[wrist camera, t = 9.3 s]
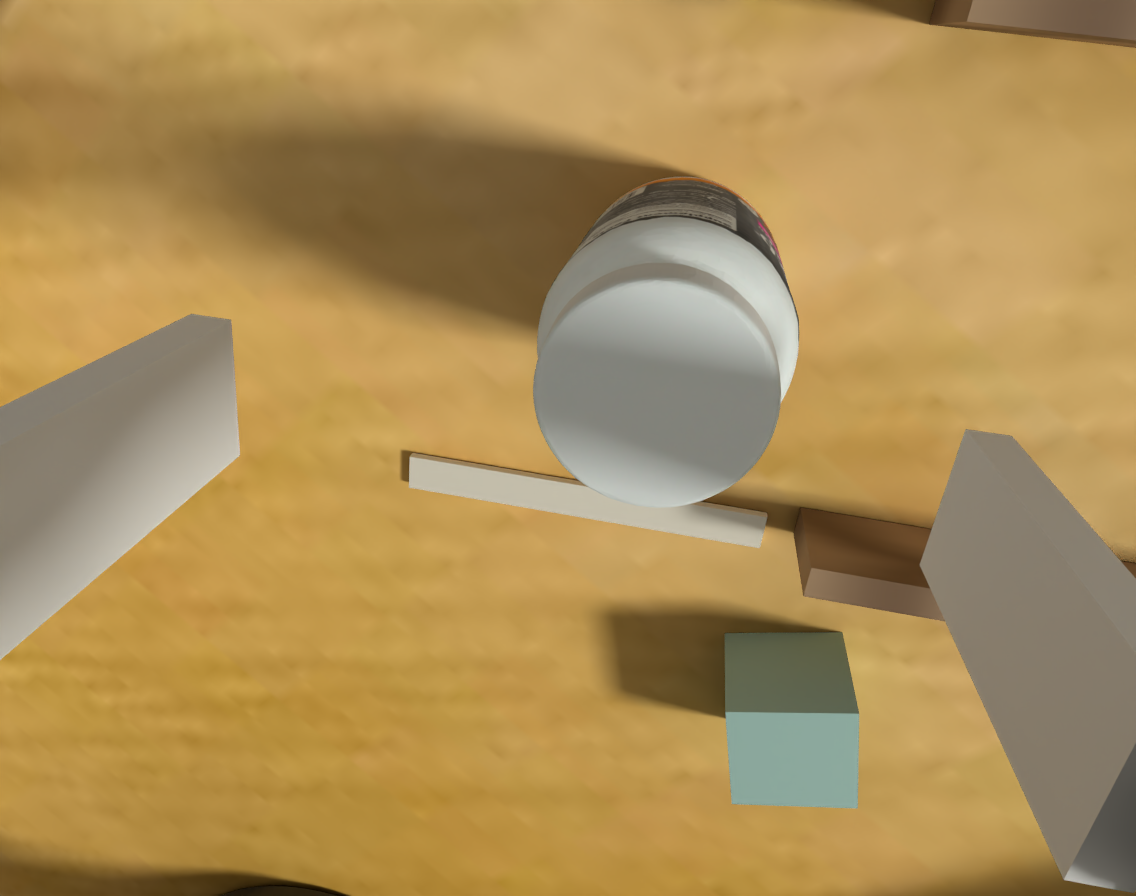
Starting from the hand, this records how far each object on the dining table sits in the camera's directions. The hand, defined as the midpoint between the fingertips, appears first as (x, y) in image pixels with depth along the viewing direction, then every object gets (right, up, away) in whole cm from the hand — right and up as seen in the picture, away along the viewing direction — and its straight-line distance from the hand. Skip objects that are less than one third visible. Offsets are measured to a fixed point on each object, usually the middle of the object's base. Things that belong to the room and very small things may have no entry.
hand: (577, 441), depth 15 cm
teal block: (+8, -8, +15) cm, 19 cm away
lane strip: (0, -2, +13) cm, 13 cm away
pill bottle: (+3, +5, +10) cm, 11 cm away
